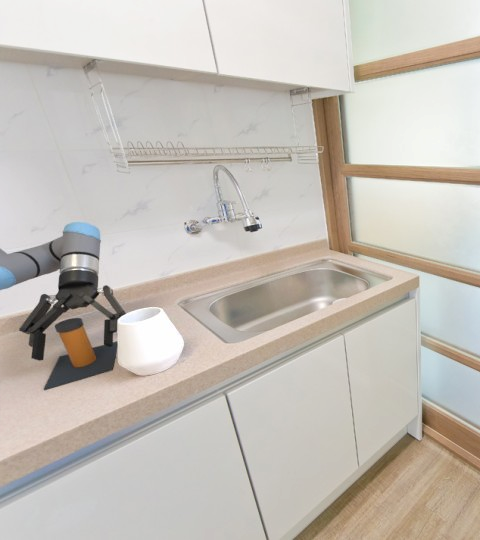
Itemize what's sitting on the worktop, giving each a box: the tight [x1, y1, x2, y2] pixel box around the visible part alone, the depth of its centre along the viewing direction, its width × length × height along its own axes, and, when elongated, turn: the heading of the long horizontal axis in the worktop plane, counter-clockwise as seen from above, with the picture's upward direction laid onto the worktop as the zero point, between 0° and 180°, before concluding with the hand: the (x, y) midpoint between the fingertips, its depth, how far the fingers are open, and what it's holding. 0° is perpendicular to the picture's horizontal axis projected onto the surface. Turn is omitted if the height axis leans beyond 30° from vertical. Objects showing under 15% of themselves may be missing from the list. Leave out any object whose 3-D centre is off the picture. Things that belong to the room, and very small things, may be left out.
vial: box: [54, 317, 96, 367], centre depth 82 cm, size 5×5×12 cm
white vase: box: [116, 306, 185, 377], centre depth 81 cm, size 13×13×14 cm
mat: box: [43, 340, 118, 391], centre depth 84 cm, size 16×12×1 cm
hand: (73, 352), depth 80 cm, fingers open, 13 cm apart
